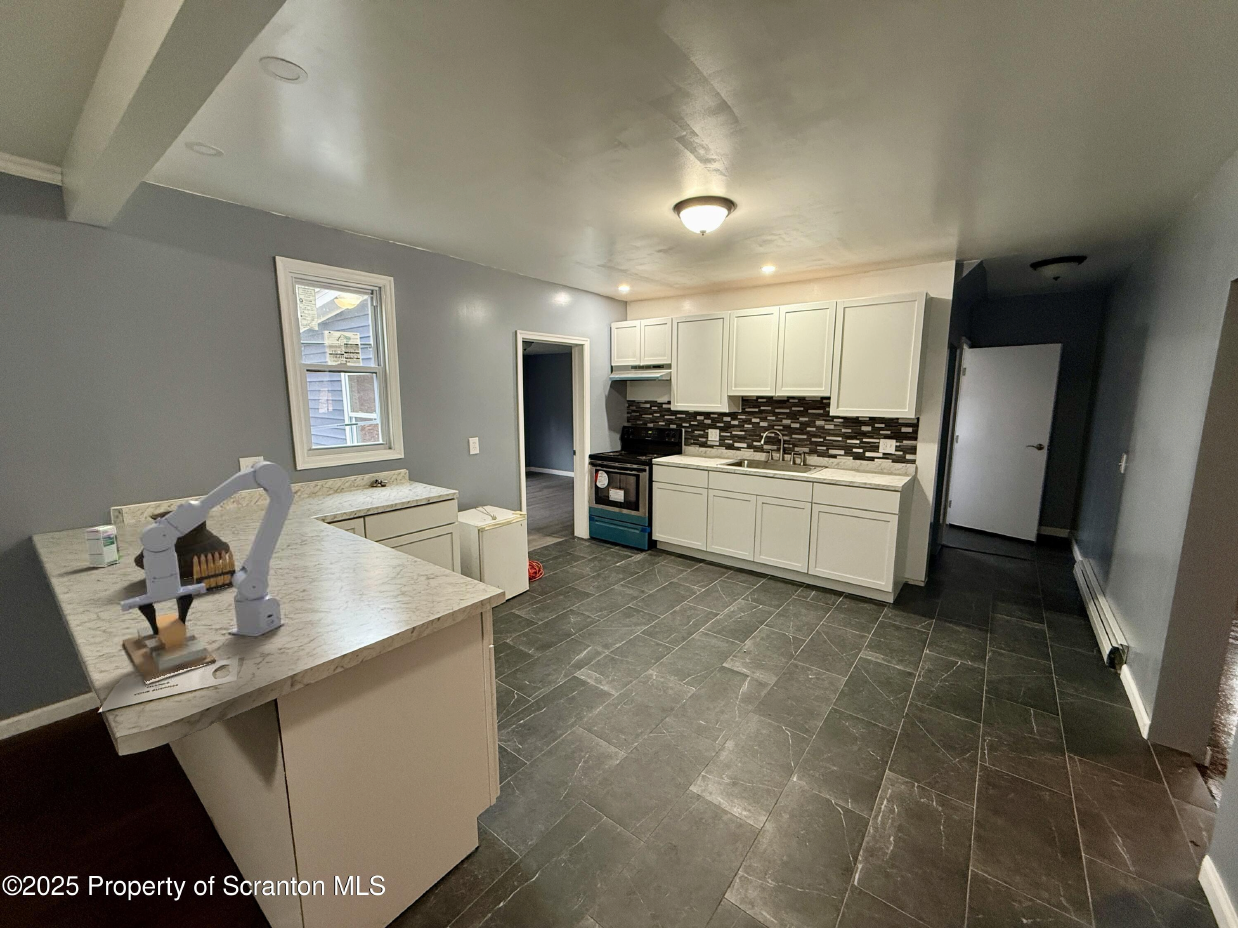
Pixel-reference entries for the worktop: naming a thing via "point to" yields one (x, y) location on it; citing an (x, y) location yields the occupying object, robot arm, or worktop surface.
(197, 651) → the rail
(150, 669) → the rail base
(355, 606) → the worktop surface
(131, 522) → the worktop surface
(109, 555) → the syrup box
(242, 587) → the robot arm
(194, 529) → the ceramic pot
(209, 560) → the ammunition clip
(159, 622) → the tan rectangular plank
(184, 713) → the worktop surface
